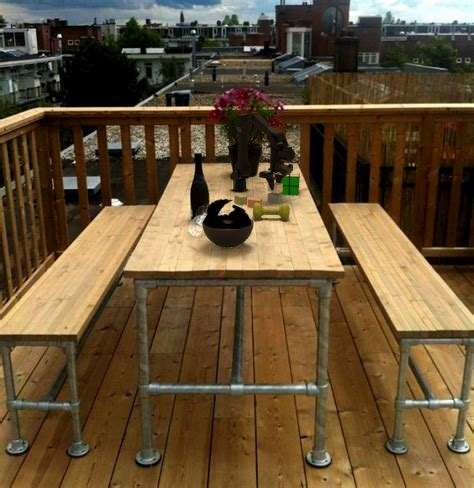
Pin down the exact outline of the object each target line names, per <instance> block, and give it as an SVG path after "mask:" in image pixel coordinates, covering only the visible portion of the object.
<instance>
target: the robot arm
mask: <svg viewBox="0 0 474 488" xmlns="http://www.w3.org/2000/svg"><path fill="white" fill-rule="evenodd" d="M252 124H254V125H255V126H256V127H257V128H258V129H259V130H260V131H261V132H262V133H263V134H264V135H265V139H266V140H267V142H268V143H269V144H268V145H267V146H266V147H267V149H269V152H270V153H269V159H268V160H267V162H268V163H269V167H268V168H267V170H262V171H261V170H260V171H259V172H258V177H259V178H262V179H265V180H266V182H267V185H268V184H269V186H270V189H271V190H272V191H273V190H274V182H276V183H281V182H282V179H283V178H284V177H285V176H287V175H290V173H292V172H294V165H293V164H292V163H288V164H285V161H286V162H293V161H294V159H295V157H296V152H295V150H294V149H293V146H290V145H289V142H288V140H287V138H286V136H285V133H284V132H283V131H282V130H280V129H279V128H275V127H273V125H271V124H270V123H269V122H268V121H267V120H266V119H265V118H264V117H263V116H262V115H260V113H259V112H258V111H253V112H249V113H241V114H237V115H236V116H235V117H234V128H235V129H236V131H237V160H236V162H235V163H234V167H233V170H232V172H231V173H230V174H229V177H230V180H232V184H233V185H232V188H231V189H230V190H231V191H233V192H237V193H242V192H243V193H244V192H246V191H247V192H248V191H249V189H248V188H247V179H249V178H250V175H251V172H252V164H251V163H250V162H249V160H248V150H249V149H248V148H249V145H248V143H249V141H248V139H249V131H250V130H251V128H252Z"/></svg>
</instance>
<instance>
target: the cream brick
mask: <svg viewBox="0 0 474 488" xmlns="http://www.w3.org/2000/svg"><path fill="white" fill-rule="evenodd" d="M267 192H269V193H271V192H273V193H280V192H283V184H281V183H276V181H274V190H273V191H272V190H271V189H270V186H269V184H268V183H267Z"/></svg>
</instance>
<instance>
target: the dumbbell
mask: <svg viewBox="0 0 474 488" xmlns="http://www.w3.org/2000/svg"><path fill="white" fill-rule="evenodd" d="M290 209H291V208H290V205H289V203H286V202H284V203H282V204H281V205H280V206H279V208H278V207H277V208H275V207H267V208H266V207H265V208H264V207H263V205H262V206H261V204H260V203H254V205H253V208H252V218H253V221H254V220H255V221H259V220H261V219H262V216H279V217H280V219H281V220H282V221H289V219H290Z"/></svg>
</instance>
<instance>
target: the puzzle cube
mask: <svg viewBox="0 0 474 488" xmlns="http://www.w3.org/2000/svg"><path fill="white" fill-rule="evenodd" d="M300 174H301V173H300V172H299V171H296V172H295V171H292V173H290V175H287V176H285V177H284V178H283V179H282V182H281V184H283V192H280V194H282V196H295V195H296V196H297V195H298V196H300V180H301V179H300V177H301V176H300Z"/></svg>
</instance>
